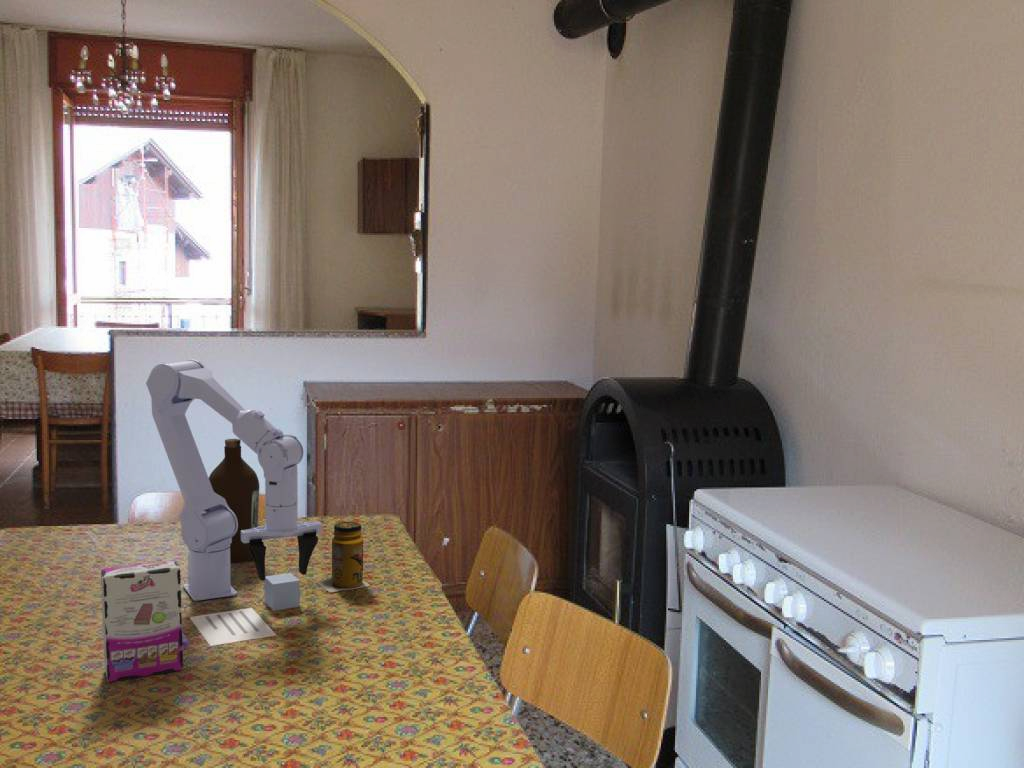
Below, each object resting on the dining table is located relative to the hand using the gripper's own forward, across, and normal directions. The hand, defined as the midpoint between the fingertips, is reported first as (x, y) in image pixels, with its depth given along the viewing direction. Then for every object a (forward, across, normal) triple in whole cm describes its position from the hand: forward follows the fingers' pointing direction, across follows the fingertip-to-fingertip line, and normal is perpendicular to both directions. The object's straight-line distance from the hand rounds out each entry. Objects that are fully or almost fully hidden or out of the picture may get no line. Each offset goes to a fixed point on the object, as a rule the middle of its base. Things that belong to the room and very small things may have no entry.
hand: (282, 576), depth 189 cm
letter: (+5, -11, -7) cm, 14 cm away
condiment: (+6, +14, +6) cm, 16 cm away
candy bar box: (+6, -28, -20) cm, 35 cm away
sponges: (+6, -23, -7) cm, 25 cm away
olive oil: (+5, 0, +33) cm, 34 cm away
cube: (+6, 0, 0) cm, 6 cm away
